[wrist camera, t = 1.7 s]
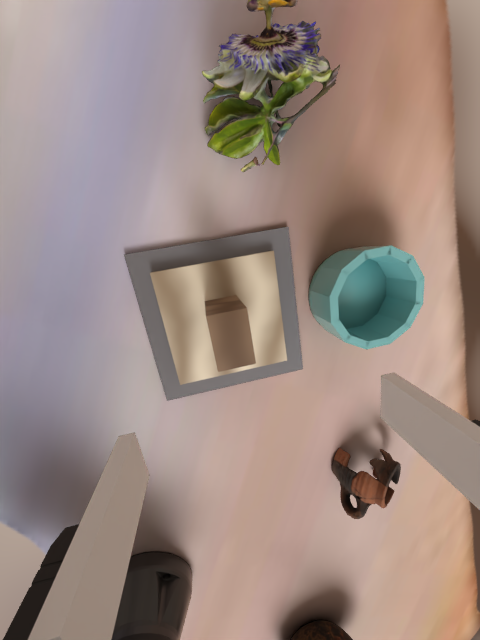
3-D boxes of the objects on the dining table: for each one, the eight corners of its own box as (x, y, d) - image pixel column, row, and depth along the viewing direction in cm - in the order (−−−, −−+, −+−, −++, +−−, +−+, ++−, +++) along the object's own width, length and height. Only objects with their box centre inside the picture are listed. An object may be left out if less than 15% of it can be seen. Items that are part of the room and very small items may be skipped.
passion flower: (242, 103, 31) (317, -22, 22) (281, 182, 33) (370, 98, 23) (167, 99, 25) (227, -82, 15) (220, 198, 26) (307, 90, 16)
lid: (180, 381, 34) (174, 421, 26) (151, 272, 29) (132, 279, 21) (284, 357, 35) (310, 388, 27) (271, 250, 31) (296, 250, 23)
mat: (167, 398, 35) (167, 400, 34) (125, 254, 29) (124, 254, 28) (301, 367, 37) (302, 369, 36) (286, 227, 31) (288, 226, 30)
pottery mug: (341, 430, 42) (394, 460, 36) (360, 431, 48) (408, 457, 42) (316, 499, 41) (366, 542, 35) (339, 491, 47) (385, 527, 41)
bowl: (312, 340, 36) (333, 356, 30) (304, 256, 32) (327, 257, 26) (387, 323, 37) (421, 336, 31) (387, 241, 33) (426, 238, 28)
